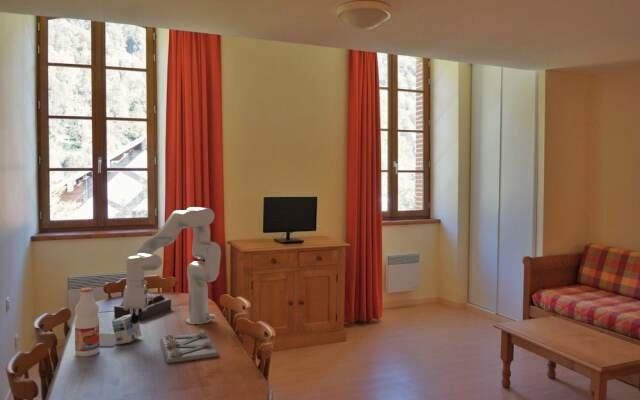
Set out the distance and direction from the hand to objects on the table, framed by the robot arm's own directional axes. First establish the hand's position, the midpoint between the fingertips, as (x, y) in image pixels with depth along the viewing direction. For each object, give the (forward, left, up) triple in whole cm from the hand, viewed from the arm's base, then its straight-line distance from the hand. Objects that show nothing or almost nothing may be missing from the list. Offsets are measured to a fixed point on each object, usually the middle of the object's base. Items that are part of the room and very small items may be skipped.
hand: (135, 322), depth 221 cm
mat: (+14, 0, -9) cm, 16 cm away
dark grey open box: (+15, -45, -10) cm, 48 cm away
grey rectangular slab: (-27, +7, -10) cm, 29 cm away
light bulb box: (+3, 0, -8) cm, 9 cm away
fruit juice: (+14, +15, -9) cm, 23 cm away
